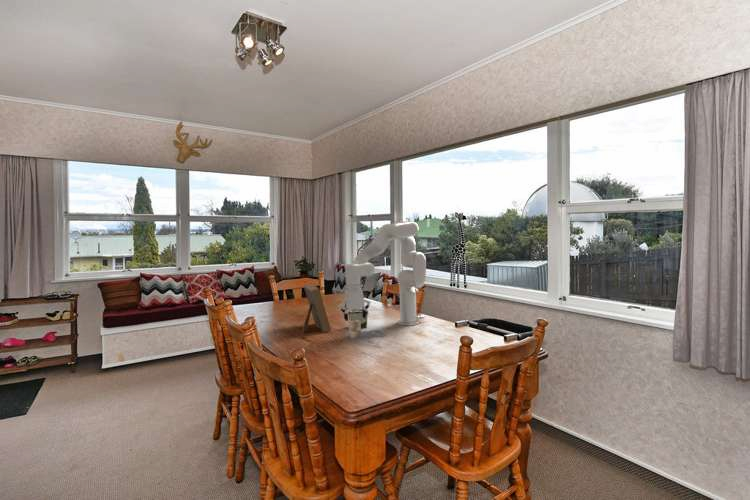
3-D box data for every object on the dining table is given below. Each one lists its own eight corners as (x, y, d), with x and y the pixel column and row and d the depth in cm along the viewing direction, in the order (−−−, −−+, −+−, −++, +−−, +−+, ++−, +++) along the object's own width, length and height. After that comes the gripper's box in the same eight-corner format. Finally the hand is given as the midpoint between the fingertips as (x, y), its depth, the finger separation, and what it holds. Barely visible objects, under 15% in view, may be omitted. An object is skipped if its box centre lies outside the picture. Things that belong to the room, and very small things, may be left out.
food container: (370, 325, 225) (369, 308, 224) (369, 328, 218) (368, 310, 218) (349, 325, 226) (348, 308, 225) (347, 328, 220) (347, 311, 219)
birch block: (358, 334, 206) (357, 319, 205) (361, 337, 201) (360, 322, 200) (349, 335, 204) (348, 320, 204) (351, 338, 199) (351, 323, 199)
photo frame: (321, 322, 234) (319, 282, 232) (331, 331, 214) (328, 287, 212) (297, 326, 229) (295, 284, 227) (304, 335, 208) (302, 290, 207)
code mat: (378, 329, 214) (378, 329, 214) (388, 336, 201) (388, 336, 201) (344, 334, 208) (344, 333, 208) (351, 341, 195) (351, 341, 195)
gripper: (366, 284, 207) (368, 315, 209) (335, 288, 202) (337, 319, 203) (371, 286, 200) (373, 318, 202) (339, 290, 194) (341, 323, 196)
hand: (355, 319), depth 202 cm, fingers open, 9 cm apart
